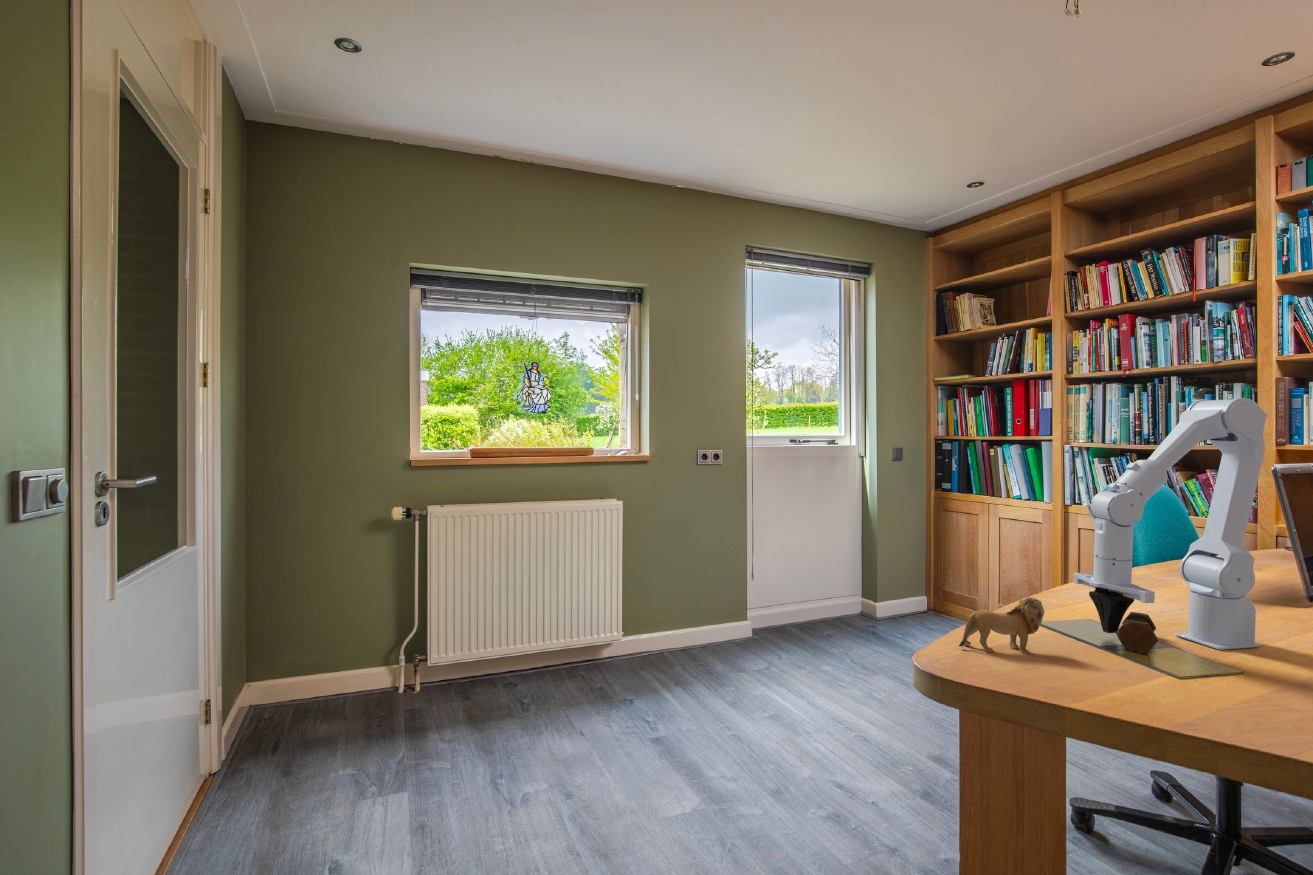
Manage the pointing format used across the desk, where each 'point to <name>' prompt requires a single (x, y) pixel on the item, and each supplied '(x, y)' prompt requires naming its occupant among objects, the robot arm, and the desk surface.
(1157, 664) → the flat rectangular plate
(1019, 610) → the lion figurine
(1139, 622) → the bolt
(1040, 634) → the desk surface
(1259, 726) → the desk surface
